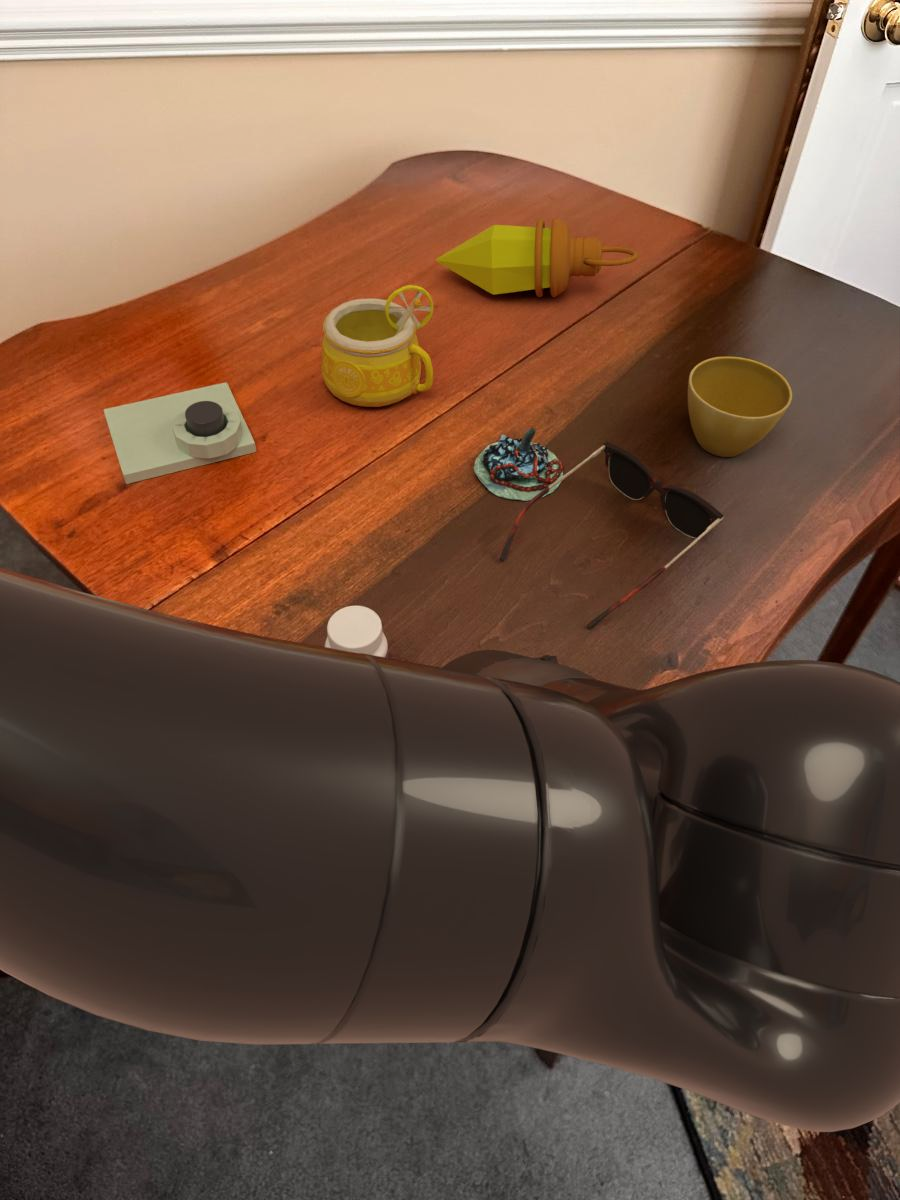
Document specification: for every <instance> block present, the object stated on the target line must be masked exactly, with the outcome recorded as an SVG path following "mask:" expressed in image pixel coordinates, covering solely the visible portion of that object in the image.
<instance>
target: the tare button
mask: <svg viewBox="0 0 900 1200" xmlns="http://www.w3.org/2000/svg"><path fill="white" fill-rule="evenodd" d="M185 417H186V421H187V425H188V429H189V431H190V433H191V434H193V435H194V436H198V437H208V436H212V435H217V434H218V433H220V432H221V431H223V429H224V428H225V420H224V415H223V410H222V408H221V406H220V405H219V404H217V403H215V402H212V401H200V402H197V403H194V404H192V405H190V406H189V407H188V408H187V409H186V411H185Z"/></svg>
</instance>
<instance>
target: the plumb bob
mask: <svg viewBox="0 0 900 1200" xmlns="http://www.w3.org/2000/svg"><path fill="white" fill-rule="evenodd" d="M550 226H551V227H546V225H545V219H544V218H543V217H539V218H537V219H536V224H535V226H522V225H510V224H509V225H508V224H493V225H491V226H490V227H488V228H486V229H484V230H483V231H481V232H479V233H478V234H476V235H474V236H472V237H471V238H469V239H467V240H465V241H464V242H462V243H461V244H459V245H457V246H456V247H454V248H452V249H450V250H448V251H447V252H445V253H444V254H442V255H440V256H438V257H437V258H434V262H436V263H438V264H440V266H443V267H444V268H447V269H448V270H449V271H452V272H454V273H455V274H457V275H458V276H460V277H462V278H464V280H467V281H469V282H471V283H472V284H474V285H475V286H478V287H479V288H481V289H482V290H484V291H485V292H487V293H489V294H491V295H502V294H509V293H516V292H517V293H518V292H523V291H531V290H532V291H533V290H535V295H536V297H537V298H541V297H543V295H544V289H547V288H549V289H550V291H549V292H550V296H551V297H553V298H555V297H557V296H558V295H560V294H562V293H563V292H564V291H565V290H566V289H567V288H568V285H569V282H570V279H571V277H577V278H578V277H596V276H597V274H599V273H600V271H601V269H602V267H616V266H624V265H628V264H631V263H634V262H635V261H636V260H638V257H639V252H637V251H636V250H635V249H632V248H628V247H623V246H603V245H602V242H601V240H600V239H598V237H597V236H587V237H586V236H585V237H583V238H582V237H575V238H574V237H572V235H571V231H570V228H569V225H568V224H567V223H566V222H565V221H564V220H562V219H561V218H559V217H557V216H556V217H553V218H552V219H551V225H550ZM603 253H621V254H627V255H630V256H628V257H625V258H622V259H612V260H611V259H610V260H604V259H603Z"/></svg>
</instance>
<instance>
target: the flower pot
mask: <svg viewBox="0 0 900 1200" xmlns="http://www.w3.org/2000/svg"><path fill="white" fill-rule="evenodd" d="M792 399H793V391H792V388H791V385H790V384H789V382H788V380H787V379H786V378H785V377H784V376H783V375H782V374H781V373H780V372H778V371H777V370H776V369H774V368H772V367H770V366H769V365H767V364H765V363H762V362H760V361H757V360H754V359H750V358H745V357H740V356H715V357H710V358H708V359H705V360H702V361H701V362H699V363H697V364H696V365H694V367H693V368H692V369H691V371H690V373H689V376H688V384H687V409H688V415H689V420H690V425H691V428H692V432H693V434H694V437H695V439H696V441H697V443H698V445H699V446H700V447H701V449H703V450H704V451H705V452H707V453H709V454H711V455H714V456H717V457H721V458H732V457H736V456H739V455H741V454H743V453H745V452H746V451H748V450H749V449H751V448H752V447H754V446H755V445H757V444H758V443H759V442H760V441H762V440H763V439H764V438H765V437H766V436H767V435H768V434H769V433H770V432H771V431H772V430H773V429H774V427H775V426H777V424H778V422H779V421H780V420H781V418H782V417H783V416H784V414H785V412H786V411H787V409H788V408H789V406H790V405H791V402H792V401H793V400H792Z"/></svg>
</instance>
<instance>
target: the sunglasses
mask: <svg viewBox="0 0 900 1200" xmlns="http://www.w3.org/2000/svg"><path fill="white" fill-rule="evenodd" d="M602 444H603V445H601V446H600V447H599V448H598V449H596V450H595V451H594V452H592V453H591V454H590V455H589V456H588V457H587V458H584V459H583V461H581V462H580V463H579V464H577V465H575V467H573V468H572V469H570V470H569V471H568V472H567V473H565V474H563V476H562V477H561V478H560V479H558V480H557V481H556V482H554V483H553V484H551V485H550V486H548V487H547V488H546V489H544V490H543V491H542V492H540V493H539V494H538V495H536V496H535V497H534V498H533V499H531V500H528V501H527V503H526V504H525V505H524V506H523V507H522V509H521V510H520V511H519V514H518V515H517V517H516V519H515V521H514V523H513V526H512V528H511V529H510V532H509V534H508V537H507V539H506V542H505V544H504V546H503V549H502V551H501V553H500V556H499V560H501V561H504V562H506V560H507V558H508V554H509V550H510V548H511V544H512V542H513V539H514V537H515V535H516V532H517V530H518V528H519V525H520V523H521V521H522V519H523V518H524V515H525V514H526V513H527V512H528V510H529V509H530V508H531V507H532V506H533V505H534V504H535V503H537V501H539V500H540V499H542V498H544V497H545V496H544V495H545V494H547V493H548V492H549V490H550V489H551V488H553V487H554V486H555V485H557V484H558V483H559V482H561V483H562V481H563V480H565V479H566V478H568V476H570V475H571V474H573V473H574V472H576V471H577V470H578V469H579V468H581V467H582V466H583V465H585V464H586V463H587V462H588V461H590V460H591V459H594V458H595V457H597V456H599V454H601V453H603V452H604V454H605V457H604V466H605V467H606V468H608V477H609V480H610V482H611V484H612V485H613V486H614V487H615V488H616V489H617V491H619V492H620V493H621V494H622V495H624V496H625V497H627V498H628V499H631V500H633V501H640V500H642V499H643V498H648V497H649V496H650V495H651V494H652V493H653V492H654V491H655V490H656V491H657V492H658V493H659V497H660V505H661V509H662V510H663V511H665V514H666V517H667V519H668V521H669V523H670V524H671V526H672V527H673V528H675V529H676V530H677V531H678V532H680V533H682V534H683V535H685V536H687V537H689V538H692V539H694V540H693V541H692V542H691V543H690V544H688V545H687V546H686V547H685V548H684V549H683V550H681V551H680V552H679V553H678V554H677V555H675V556H674V557H673V558H672V559H671V560H670V561H669V562H668V563H666V565H664V566H662V567H659V569H657V570H656V571H655V572H653V574H652V575H650V576H649V577H648V578H647V579H645V580H644V581H643V582H641V584H639V585H637V586H636V587H635V588H633V589H632V590H630V591H629V592H627V594H626V595H624V596H623V597H621V598H620V599H618V600H617V601H616V602H615V603H613V604H612V605H610V607H608V608H607V609H606V610H604V611H603V612H602V613H600V614H599V615H597V616H596V617H595V618H594V619H592V620H591V621H590V622H588V623H587V627H588V628H589V629H590V630H592V629H594V628H595V627H596V626H597V625H599V624H600V623H601V622H602V621H603V620H604V619H605V618H606V617H607V616H608V615H610V614H611V613H613V612H614V611H615V610H617V609H618V608H619V607H621V606H622V605H624V603H626V602H627V601H628V600H630V599H631V598H633V597H634V596H635V595H636V594H637V593H639V592H641V591H642V590H643V589H645V588H646V587H647V586H649V585H650V584H652V582H654V581H655V580H656V579H658V577H660V576H661V575H662V574H663V573H664V572H665V571H666V570H667V569H668V568H669V567H670V566H671V565H672V564H674V563H675V562H676V561H677V560H678V559H679V558H681V557H682V556H683V555H684V554H685V553H687V551H689V550H690V549H691V548H692V547H693V546H694V545H695V544H697V542H699V541H700V540H701V539H702V538H703V537H704V536H705V535H706V534H709V533H711V532H712V531H713V529H714V528H715V527H716V526H717V525H719V524H720V523H722V522H723V519H724V518H725V515H724V514H723V513H722V512H720V511H719V510H718V509H717V508H716V507H715V506H713V504H711V503H709V502H708V501H707V500H705V499H704V498H702V497H701V496H699V495H697V493H695V492H692V491H690V490H688V489H686V488H683V487H681V486H678V485H675V484H666V483H663V482H662V481H660V480H659V478H657V475H656V474H655V473H654V472H653V470H651V468H650V467H649V466H647V464H646V463H644V462H643V461H642V460H641V459H640V458H638V457H637V456H636V455H634V454H633V453H631V452H630V451H628V450H626V449H624V448H622V447H620V446H619V445H616V444H614V443H612V442H609V441H605V442H604V443H602ZM543 496H544V497H543ZM541 497H542V498H541Z"/></svg>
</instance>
